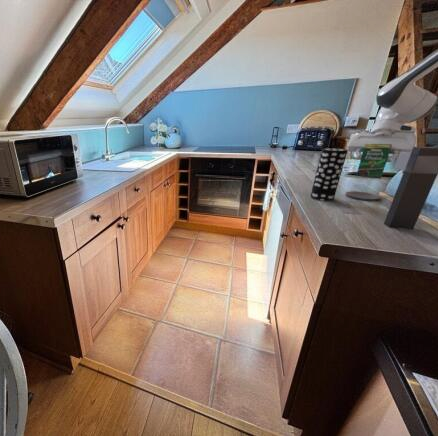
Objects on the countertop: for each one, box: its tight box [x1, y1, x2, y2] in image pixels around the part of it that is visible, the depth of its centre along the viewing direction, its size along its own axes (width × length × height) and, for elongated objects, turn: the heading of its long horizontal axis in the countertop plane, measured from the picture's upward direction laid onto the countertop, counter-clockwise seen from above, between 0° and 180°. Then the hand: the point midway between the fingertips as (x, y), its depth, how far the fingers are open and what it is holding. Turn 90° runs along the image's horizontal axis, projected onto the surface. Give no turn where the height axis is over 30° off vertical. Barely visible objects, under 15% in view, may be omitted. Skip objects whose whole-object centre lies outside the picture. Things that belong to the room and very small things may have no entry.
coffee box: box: [355, 144, 392, 179], centre depth 98 cm, size 8×3×13 cm, turn 40°
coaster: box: [344, 190, 380, 202], centre depth 103 cm, size 11×11×1 cm
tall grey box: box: [383, 146, 438, 230], centre depth 74 cm, size 8×6×24 cm
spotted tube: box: [309, 147, 349, 202], centre depth 99 cm, size 8×8×20 cm
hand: (373, 160), depth 97 cm, fingers closed on coffee box, 8 cm apart
